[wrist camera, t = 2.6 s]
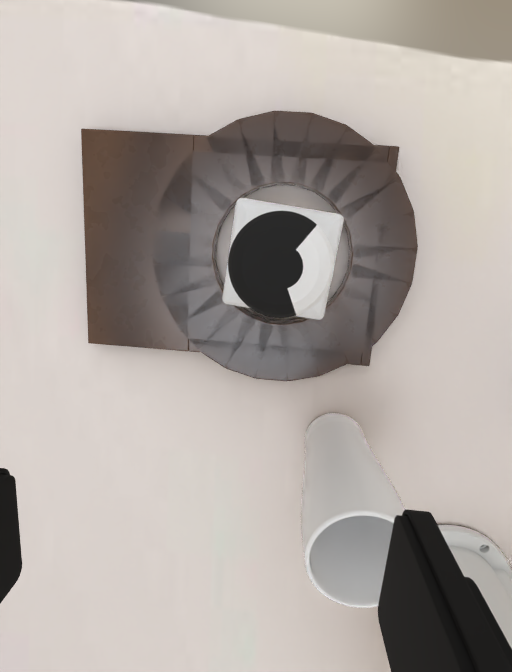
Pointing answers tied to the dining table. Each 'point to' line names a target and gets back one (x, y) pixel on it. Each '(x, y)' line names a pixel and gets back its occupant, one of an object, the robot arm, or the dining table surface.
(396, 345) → the dining table surface
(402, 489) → the dining table surface
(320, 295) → the medicine bottle
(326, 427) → the drinking glass
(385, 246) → the holder board
